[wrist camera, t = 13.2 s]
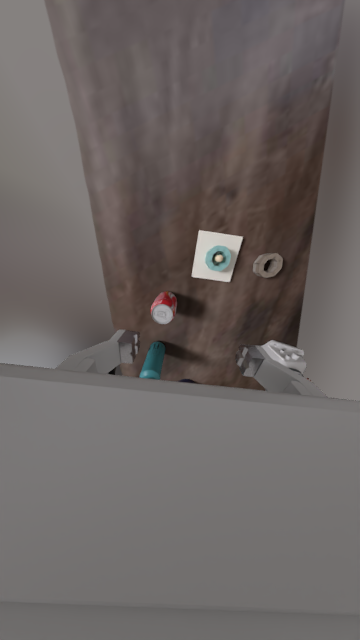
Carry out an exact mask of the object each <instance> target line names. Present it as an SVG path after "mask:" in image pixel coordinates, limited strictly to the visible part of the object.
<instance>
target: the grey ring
mask: <svg viewBox="0 0 360 640" xmlns="http://www.w3.org/2000/svg"><path fill="white" fill-rule="evenodd" d="M268 260H269V261H270V266H269V268H268V269H267V270H266V271H264V264H265V263H266V262H267V261H268ZM282 262H283V259H282V257H281V256H279V255H278V254H277V253H268V254H263V255H260V256H259V257H258V258H257V259H256V260H255V262H254V264H253V271H254V273H255V274H256V275H258V276H260V277H264V278H268V277H272V276H275V275H276V274H277V273H278V272H279V271H280V270H281V268H282Z"/></svg>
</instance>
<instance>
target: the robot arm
mask: <svg viewBox="0 0 360 640" xmlns="http://www.w3.org/2000/svg"><path fill="white" fill-rule="evenodd" d="M139 337H140V333H139V332H136V331H129V330H121V329H120V330H118V331H117V332H116V333H115V335H114V336H113V337H112V338H111V339H110V340H109V341H105V342H103V343H100V344H98V345H95V346H93V347H91V348H88V349H86V350H83V351H80V352H78V353H75V354H73V355H70V356H69V357H68V358H67V359H66V360H64V361H63V362H62V363H61V364H60V365H59V366H58V367H56V368H55V369H52V368H43V367H33V366H24V365H14V364H5V363H0V640H360V401H356V400H355V401H354V400H346V399H337V398H328V397H327V396H326V395H325V394H324V393H323V392H322V391H321V390H320V389H319V388H318V387H317V386H316V385H315V384H314V383H313V382H311V380H310V381H309V380H308V379H309V378H307V379H306V378H304V376H303V373H304V371H305V369H306V366H307V365H306V362H305V360H303V355H304V351H303V350H302V349H299V348H296V347H293V346H290V345H287V344H284V343H281V342H278V341H274V340H271V341H269V342H268V343H266V344H265V345H262V346H255V345H244V344H241V345H240V346H239V351H238V352H237V353H236V356H235V360H236V363H237V364H238V365H239V366H240V368H239V369H240V371H241V373H242V375H243V376H250V377H254V378H255V379H256V380H257V381H258V382H259V383H260V384H261V385H262V386H263V387H264V388H265V389H266V391H260V390H251V389H242V388H232V387H223V386H214V385H204V384H194V383H185V382H175V381H166V380H156V379H147V378H137V377H128V376H118V375H109V374H107V373H108V372H109V371H111V370H112V369H113V368H115V367H116V366H118V365H119V364H120V363H133V362H134V359H135V357H136V354H137V353H138V351H139V348H140V341H139Z"/></svg>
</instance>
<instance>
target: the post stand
mask: <svg viewBox="0 0 360 640" xmlns="http://www.w3.org/2000/svg"><path fill="white" fill-rule="evenodd" d="M242 239H243V237H240V236H234V235H227V234H220V233H214V232H207V231H201V230H199V233H198V240H197V246H196V252H195V258H194V264H193V270H192V277H196V278H204V279H211V280H218V281H225V282H230V279H231V276H232V273H233V269H234V266H235V263H236V259H237V256H238V252H239V249H240V246H241V242H242ZM217 245H219V246H226V247H227V248H228V250H229V252H230V254H231V255H230V256H231V258H230V262H229V265H228V266H227V267H226V268H224V269H223V270H222V271H214V270H210V269H209V268H208V266H207V265H206V263H205V262H206V261H205V258H206V253H207V252H208V251H209V250H210V249H211V248H213V247H214V246H217ZM222 260H223V256H222V255H221V253H220V252H216V253H214V254H213V257H212V263H213V264H214V265H215V266H217V265H218V264H220V263H221V261H222Z"/></svg>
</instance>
